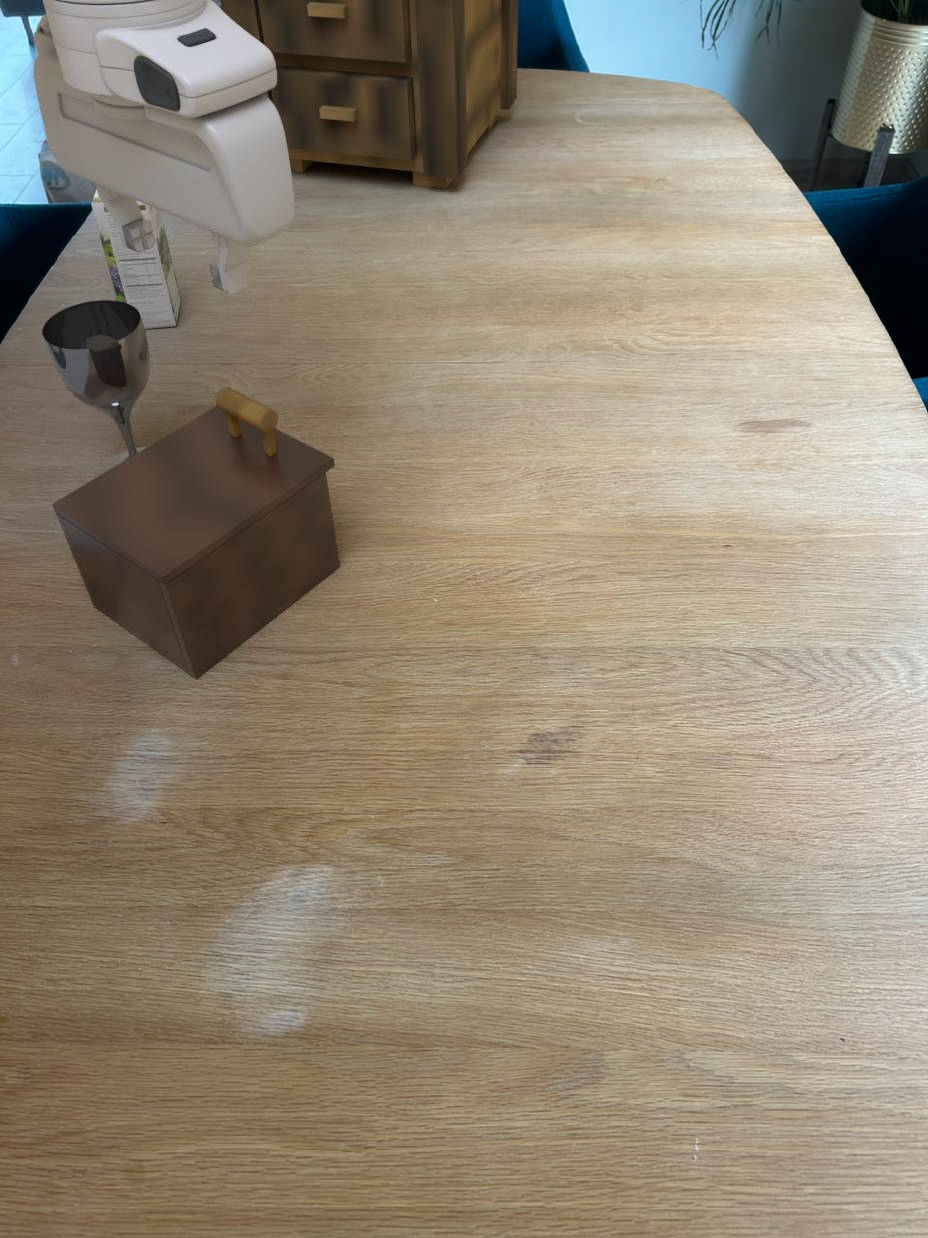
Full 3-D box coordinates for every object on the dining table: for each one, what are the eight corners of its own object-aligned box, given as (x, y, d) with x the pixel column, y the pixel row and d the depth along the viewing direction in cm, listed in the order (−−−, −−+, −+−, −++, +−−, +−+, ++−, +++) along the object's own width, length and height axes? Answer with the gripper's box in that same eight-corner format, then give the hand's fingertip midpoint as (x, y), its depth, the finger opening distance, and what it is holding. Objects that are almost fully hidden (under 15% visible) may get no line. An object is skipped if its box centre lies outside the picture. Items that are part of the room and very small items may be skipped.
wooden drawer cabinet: (534, 110, 154) (542, -155, 130) (469, 206, 131) (464, -96, 107) (324, 92, 161) (295, -163, 138) (227, 179, 138) (173, -108, 115)
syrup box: (131, 305, 114) (95, 177, 104) (183, 301, 115) (152, 173, 104) (125, 331, 110) (86, 200, 100) (179, 327, 111) (146, 196, 100)
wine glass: (141, 435, 97) (97, 291, 86) (199, 463, 93) (161, 316, 83) (76, 477, 92) (21, 331, 81) (135, 508, 89) (85, 360, 78)
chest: (237, 507, 89) (215, 414, 82) (340, 566, 83) (326, 472, 76) (93, 606, 80) (55, 512, 73) (196, 679, 75) (165, 585, 68)
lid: (225, 409, 82) (213, 357, 79) (335, 466, 77) (328, 413, 73) (54, 512, 73) (33, 459, 70) (165, 585, 68) (148, 531, 64)
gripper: (-16, 20, 61) (53, 240, 71) (208, 92, 52) (251, 334, 62) (71, -4, 64) (125, 210, 74) (296, 61, 55) (323, 294, 65)
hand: (184, 267), depth 68 cm, fingers open, 8 cm apart
